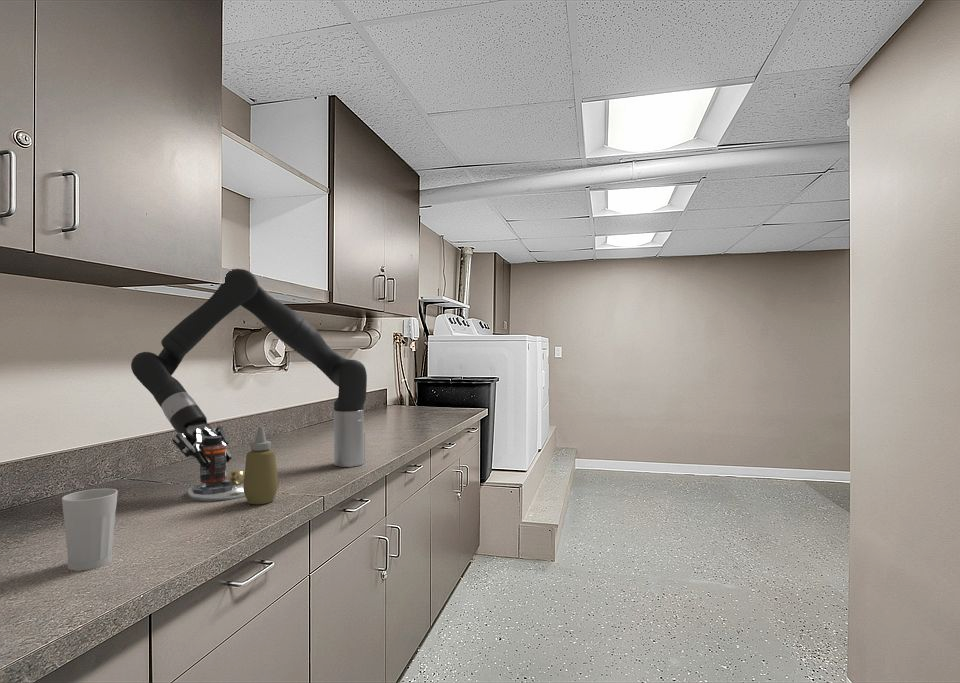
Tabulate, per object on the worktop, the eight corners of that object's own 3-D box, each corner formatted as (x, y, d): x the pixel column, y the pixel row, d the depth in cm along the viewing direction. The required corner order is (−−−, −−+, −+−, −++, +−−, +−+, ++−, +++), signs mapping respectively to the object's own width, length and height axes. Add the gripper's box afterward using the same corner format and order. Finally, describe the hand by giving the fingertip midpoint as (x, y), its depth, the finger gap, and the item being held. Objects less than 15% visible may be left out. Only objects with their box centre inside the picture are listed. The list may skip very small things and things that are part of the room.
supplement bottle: (230, 478, 143) (231, 434, 143) (217, 484, 137) (217, 438, 137) (208, 478, 144) (209, 434, 144) (194, 484, 138) (195, 438, 138)
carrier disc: (223, 482, 154) (223, 466, 154) (270, 487, 148) (270, 470, 148) (173, 497, 139) (173, 479, 139) (222, 503, 133) (222, 485, 133)
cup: (100, 571, 93) (100, 500, 93) (50, 573, 92) (50, 501, 93) (127, 554, 101) (127, 487, 101) (80, 555, 100) (80, 489, 100)
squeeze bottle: (265, 495, 140) (265, 424, 140) (285, 500, 136) (285, 426, 136) (235, 503, 134) (235, 428, 134) (255, 508, 129) (255, 430, 129)
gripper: (166, 406, 137) (203, 458, 132) (213, 401, 150) (248, 448, 146) (151, 427, 138) (186, 479, 134) (199, 419, 152) (232, 466, 148)
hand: (218, 462), depth 140 cm, fingers closed on supplement bottle, 6 cm apart
